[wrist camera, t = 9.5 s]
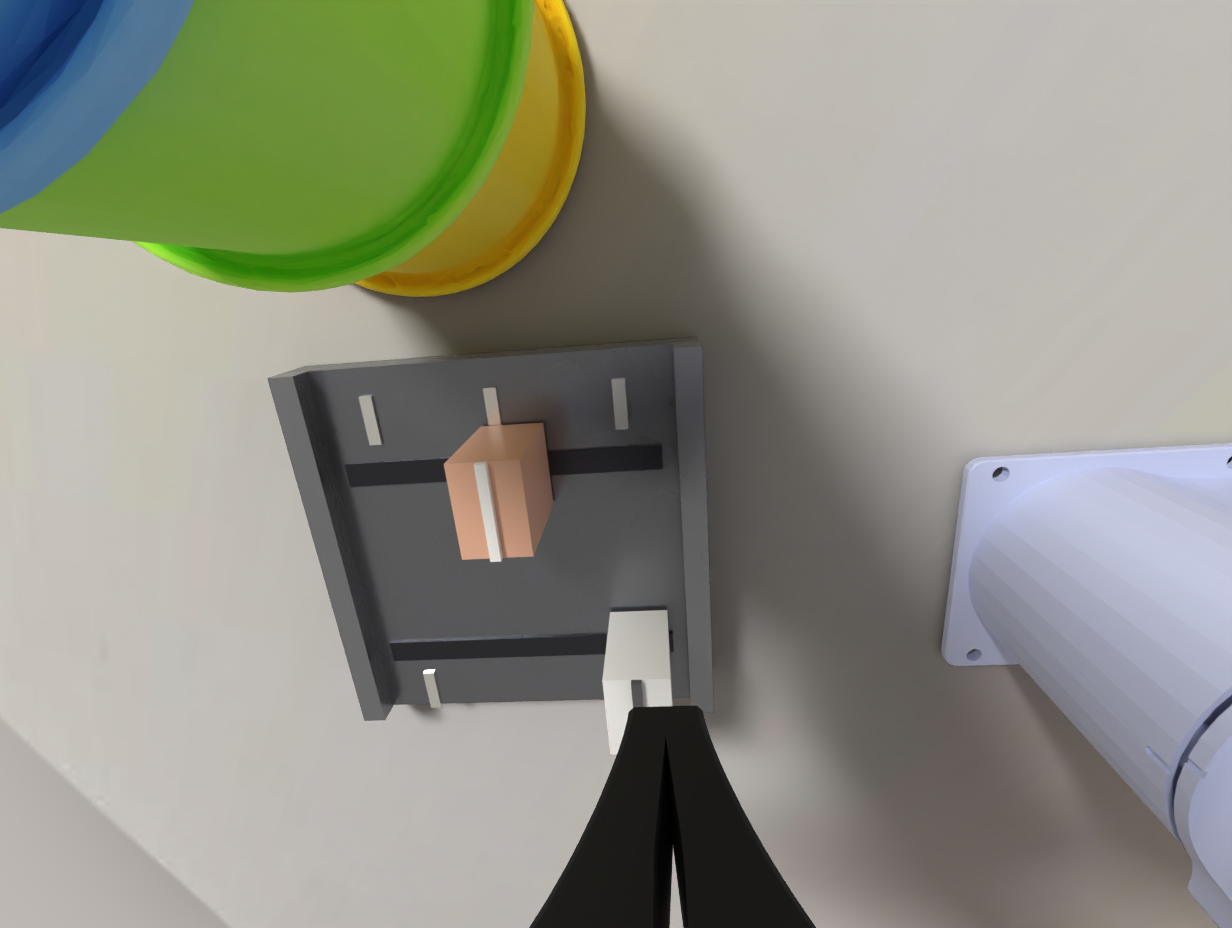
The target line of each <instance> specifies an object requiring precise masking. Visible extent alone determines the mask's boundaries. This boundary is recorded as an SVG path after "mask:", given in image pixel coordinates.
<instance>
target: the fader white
mask: <svg viewBox="0 0 1232 928" xmlns="http://www.w3.org/2000/svg"><path fill="white" fill-rule="evenodd" d="M602 682H603V692H604V701H605V710H606V719H607V728H608V737H609V746H610V754H617V753H618V750H619V747H620V744H621V741H622V738H623V734H624V731H625V727H626V723H627V718H628V713H629V711H630V710H631V709H633V708H634V707H659V706H673V700H672V680H671V663H670V646H669V630H668V614H667V610H654V611H628V612H610V617H609V626H608V635H607V644H606V653H605V661H604V670H603V679H602Z"/></svg>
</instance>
